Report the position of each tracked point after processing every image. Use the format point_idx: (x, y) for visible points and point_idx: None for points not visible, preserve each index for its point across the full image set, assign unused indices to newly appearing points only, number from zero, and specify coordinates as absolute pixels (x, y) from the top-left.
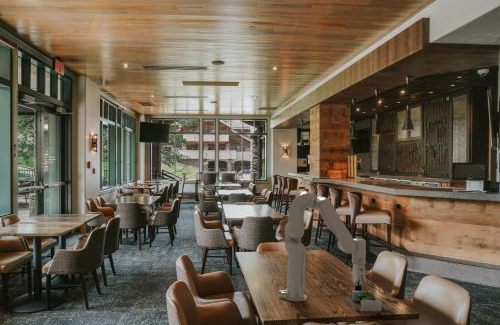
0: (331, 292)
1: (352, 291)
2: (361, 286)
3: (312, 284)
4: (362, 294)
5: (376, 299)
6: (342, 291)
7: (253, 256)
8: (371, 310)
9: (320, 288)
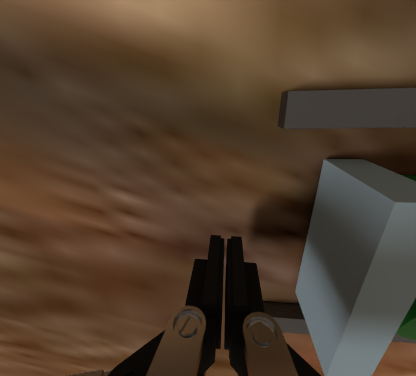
0: (125, 335)
1: (332, 373)
2: (272, 319)
3: (8, 363)
4: None
5: (393, 94)
6: (86, 280)
7: None
8: None
9: (65, 355)
